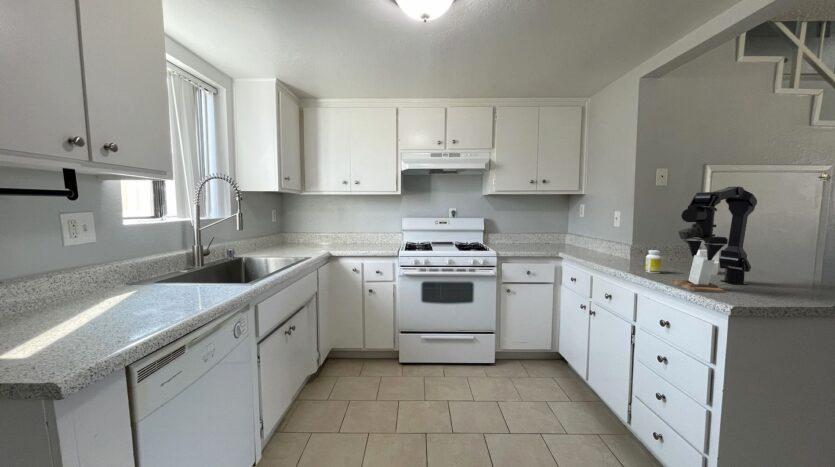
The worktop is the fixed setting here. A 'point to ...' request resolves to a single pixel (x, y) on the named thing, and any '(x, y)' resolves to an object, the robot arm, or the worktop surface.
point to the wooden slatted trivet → (698, 286)
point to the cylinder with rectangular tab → (716, 258)
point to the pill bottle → (653, 262)
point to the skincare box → (701, 270)
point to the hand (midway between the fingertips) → (701, 258)
